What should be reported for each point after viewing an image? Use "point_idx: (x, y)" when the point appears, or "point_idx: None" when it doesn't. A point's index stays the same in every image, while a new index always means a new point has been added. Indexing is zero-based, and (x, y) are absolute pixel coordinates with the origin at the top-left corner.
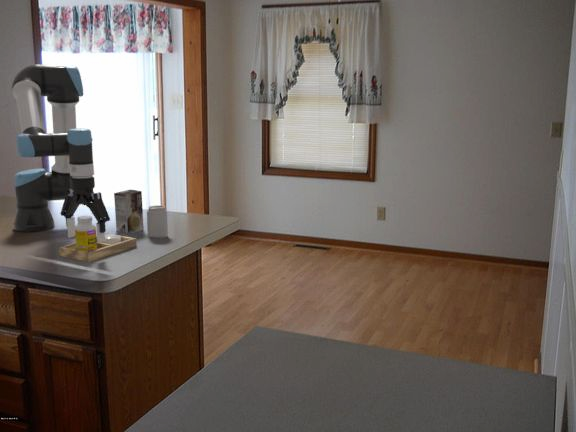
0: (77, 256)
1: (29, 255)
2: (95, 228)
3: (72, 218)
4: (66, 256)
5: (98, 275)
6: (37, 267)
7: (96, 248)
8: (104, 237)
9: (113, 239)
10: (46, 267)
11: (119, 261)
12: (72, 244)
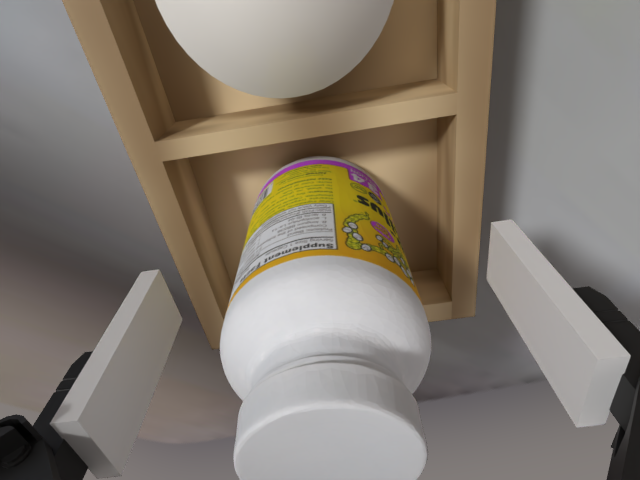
0: None
1: (68, 352)
2: (412, 291)
3: (95, 433)
4: None
5: None
6: None
7: (381, 195)
8: (527, 242)
9: (390, 3)
10: None
11: (572, 133)
12: (202, 273)
